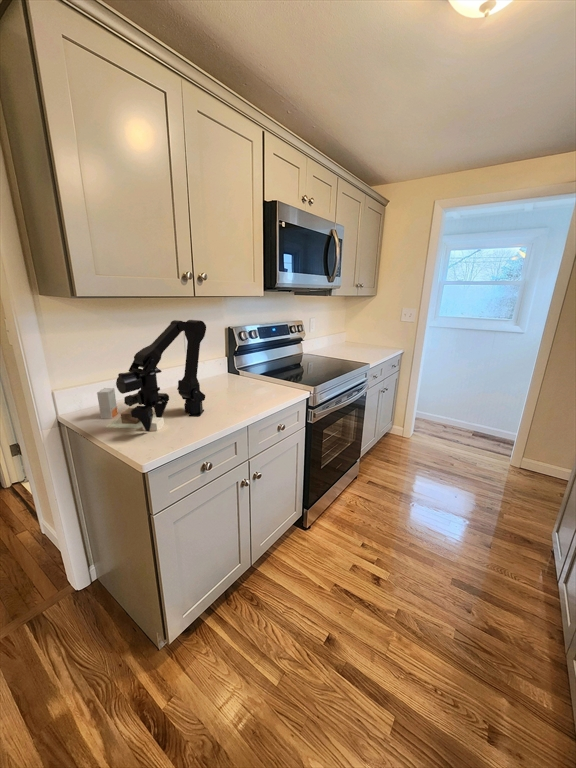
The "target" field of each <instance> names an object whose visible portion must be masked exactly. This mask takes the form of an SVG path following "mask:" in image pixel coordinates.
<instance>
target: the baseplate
mask: <svg viewBox="0 0 576 768" xmlns="http://www.w3.org/2000/svg"><path fill="white" fill-rule="evenodd" d="M152 414H153V417H156V414H155V413H152ZM106 428H111V429H113V428H116V429H143V426H142V422H141V421H140V422H139V423H137V424H129V423H122V420H121V416H119V417H118V418H117V419H115V420H114V421H113V422H111V423H110V424H108V425H107V426H106Z"/></svg>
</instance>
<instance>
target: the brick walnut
mask: <svg viewBox="0 0 576 768" xmlns="http://www.w3.org/2000/svg"><path fill="white" fill-rule="evenodd" d="M134 408H135V407H132V408H131V407H129V408H127V409H125V410H124V411H122V412H121V413H120V417H121V420H122V423H129V424H137V423H139V422H140V420H139V419H138V418H134V417H131V410H132V409H134Z"/></svg>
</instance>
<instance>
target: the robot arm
mask: <svg viewBox="0 0 576 768" xmlns="http://www.w3.org/2000/svg"><path fill="white" fill-rule="evenodd" d="M206 331H207V325H206V324H205V322H204V321H203V320H198V319H197V320H196V319H188V320H187V321H184V320H177V319H174V320H172V321H170V323H169V325H168V326H167V327H166V328H165V329H164V330H163V331H162V332H161V333H160V335H158V336H157V337H156V339H155V340H154V341H153V342H152V343H151V344H149V345H148V346H145V347H143V348H141V349H140V350H138V351H137V352H136V353H135V354H134V356H133V361H132V363H131V365H130V367H129V368H128V372H120V373H118V375H117V376H118V377H116V382H115V385H116V386H115V387H116V388H117V390H118V392H119V393H120V394H122V395H123V394H126V393H131V392H135V391H137V392H136V393H134V394H129V395H126V396H124V397H123V398H124V400H123V401H124V404H125V405H126V406H128V407H129V408H131V407H132V406H134V405H136V404H138V405H136V406H135V407H133V408H134V409H132V410H131V417H134V418H138V419H139V420H140V421H141V422H142V424H143V426H144V428H145V430H146V431H145V432H151V431H150V428H151V423H152V418H153V414H156V417H158V418H163V415H164V412H165V410H166V408H167V405H168V403H169V402H168V401H170V395H169V394H168V393H165V392H164V393H163V392H162V393H160V392H159V391H161V386H160V387H159V386H158V380H157V374H159V373H162V370H161V369H160V368H158V367H157V366H158V364H159V363H160V362H161V360H162V356H163V355H162V354H163V353H165V350H167V349H168V348H169V346H170V345H171V344H172V343H173V342H174V341H175V339H176V338H178V336H179V335H180V334H181V333H182V332H184V336H185V339H186V341H187V342H186V343H187V345H186V353H185V354H186V355H185V365H184V375H183V377H182V379H178V381H177V389H176V390H178V391H177V392H178V394H179V395H180V397H181V399H182V400H184V401H185V402H184V413H185V414H188V416H190V417H201V415H202V414H203V413H204V412H205V409H203V408H204V407H203V406H204V405H203V401H205V400H206V394H204V392H202V391H201V390H200V389H201V388H200V386H201V385H200V382H199V379H198V368H199V359H200V357H199V356H200V347H201V342H203V340H204V338H205V336H206V333H207V332H206ZM153 409H154V411H153ZM154 412H155V413H154Z"/></svg>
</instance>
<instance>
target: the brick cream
mask: <svg viewBox="0 0 576 768" xmlns="http://www.w3.org/2000/svg"><path fill="white" fill-rule="evenodd" d="M164 420H165V419H164V417H162V418H158V417H153V418H152V423H151V428H150V431H149V432H158V431H160V429H161V428H163V427H164V426H165V421H164ZM142 426H143V424H142ZM142 431H145V432H147V431H146V430H145V428H144V426H143V428H142Z"/></svg>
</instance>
